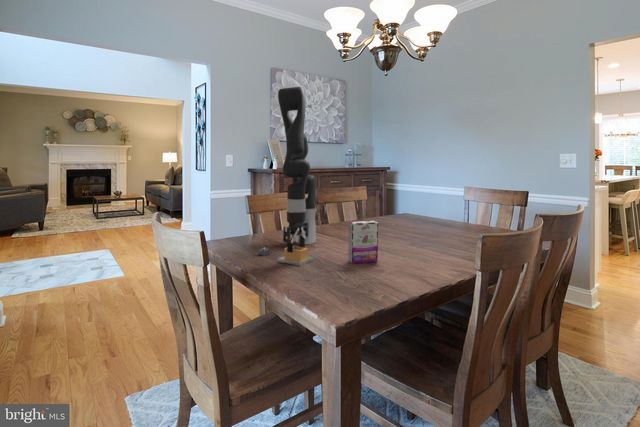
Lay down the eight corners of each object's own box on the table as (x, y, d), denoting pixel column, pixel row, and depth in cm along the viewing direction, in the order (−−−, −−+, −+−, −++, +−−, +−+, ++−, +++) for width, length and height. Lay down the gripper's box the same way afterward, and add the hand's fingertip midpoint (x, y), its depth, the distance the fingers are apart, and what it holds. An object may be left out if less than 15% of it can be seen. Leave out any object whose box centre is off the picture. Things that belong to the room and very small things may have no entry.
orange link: (291, 255, 154) (291, 245, 154) (307, 258, 150) (307, 248, 150) (284, 257, 150) (284, 248, 150) (300, 260, 146) (300, 250, 146)
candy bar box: (372, 259, 155) (374, 220, 152) (377, 262, 150) (379, 222, 147) (347, 260, 152) (348, 221, 149) (351, 264, 147) (352, 223, 144)
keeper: (292, 256, 157) (292, 241, 157) (314, 260, 152) (314, 245, 151) (277, 261, 149) (277, 246, 148) (300, 265, 143) (300, 250, 142)
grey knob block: (264, 252, 163) (264, 246, 162) (269, 253, 161) (269, 247, 161) (258, 254, 159) (258, 248, 159) (263, 255, 158) (263, 249, 157)
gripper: (298, 207, 155) (298, 245, 158) (277, 211, 143) (277, 252, 146) (313, 209, 152) (313, 247, 154) (293, 213, 139) (293, 255, 142)
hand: (296, 250), depth 150 cm, fingers open, 8 cm apart
